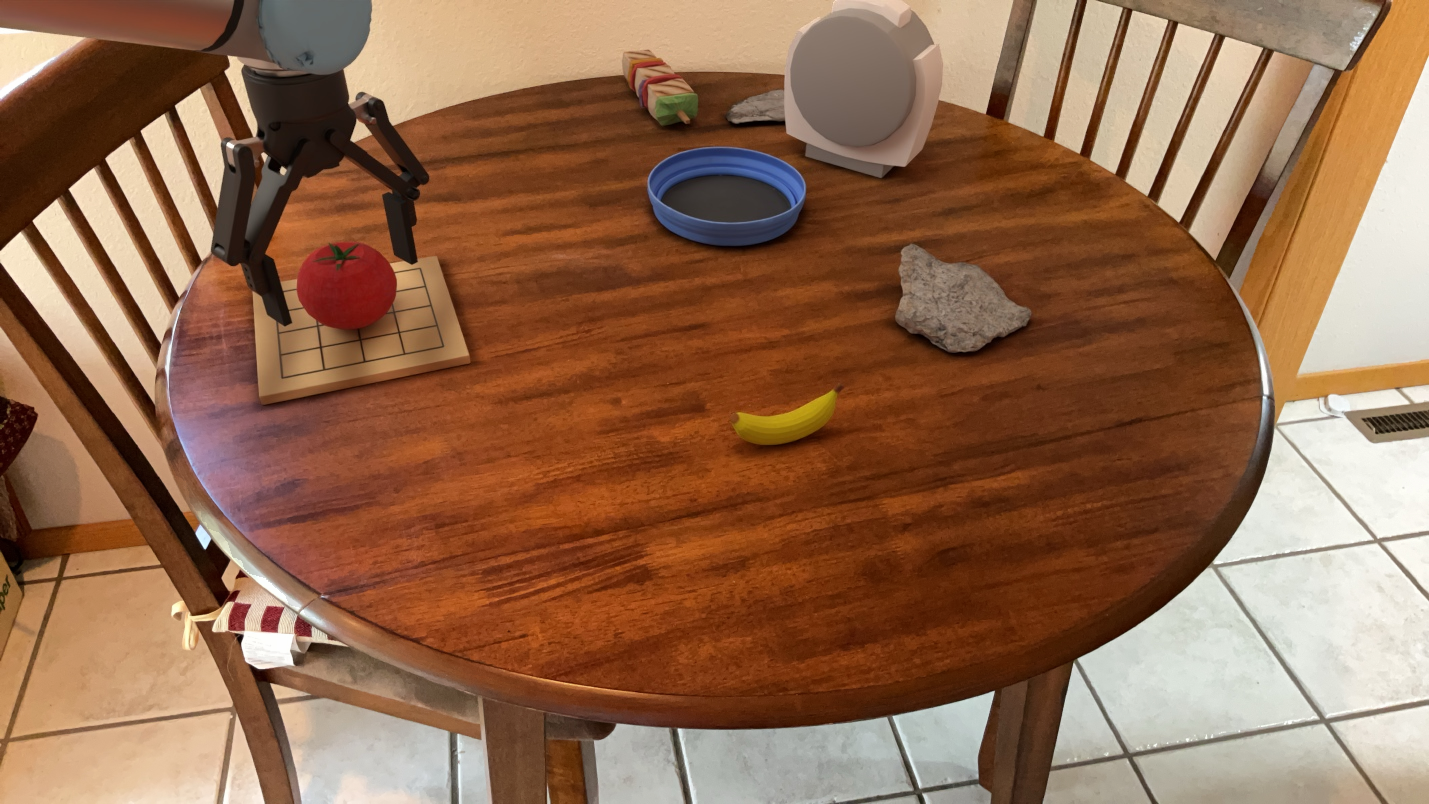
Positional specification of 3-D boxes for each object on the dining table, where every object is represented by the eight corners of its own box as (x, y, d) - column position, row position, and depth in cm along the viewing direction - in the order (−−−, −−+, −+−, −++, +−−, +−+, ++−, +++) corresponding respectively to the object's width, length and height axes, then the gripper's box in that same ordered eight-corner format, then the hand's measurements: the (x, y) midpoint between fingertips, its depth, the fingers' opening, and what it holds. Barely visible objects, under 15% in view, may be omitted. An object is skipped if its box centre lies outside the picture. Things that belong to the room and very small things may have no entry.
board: (261, 405, 84) (258, 396, 84) (254, 294, 97) (251, 285, 96) (470, 363, 90) (469, 354, 89) (438, 263, 102) (436, 254, 102)
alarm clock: (929, 165, 123) (961, 0, 110) (904, 191, 118) (934, 22, 104) (802, 129, 130) (818, -30, 117) (773, 153, 124) (785, -11, 111)
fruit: (832, 418, 85) (838, 374, 82) (842, 434, 84) (849, 389, 81) (723, 443, 83) (725, 398, 79) (732, 460, 81) (735, 414, 78)
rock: (941, 332, 89) (866, 240, 99) (926, 367, 92) (854, 274, 101) (1056, 323, 94) (974, 236, 104) (1038, 356, 97) (960, 268, 107)
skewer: (615, 81, 140) (614, 46, 137) (657, 76, 142) (657, 42, 139) (663, 143, 126) (663, 105, 122) (710, 136, 127) (711, 99, 124)
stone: (731, 128, 129) (731, 122, 129) (715, 98, 136) (715, 93, 136) (880, 118, 133) (881, 112, 133) (857, 89, 140) (858, 84, 140)
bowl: (619, 226, 109) (618, 197, 107) (690, 161, 122) (690, 134, 120) (767, 267, 104) (770, 238, 101) (825, 194, 116) (828, 167, 114)
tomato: (375, 352, 89) (357, 278, 83) (287, 337, 90) (264, 263, 85) (419, 299, 95) (405, 228, 90) (337, 285, 97) (318, 214, 91)
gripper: (160, 121, 67) (244, 365, 81) (447, 31, 82) (477, 249, 96) (106, 91, 70) (195, 330, 84) (391, 10, 86) (427, 223, 99)
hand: (345, 287), depth 90 cm, fingers open, 13 cm apart
